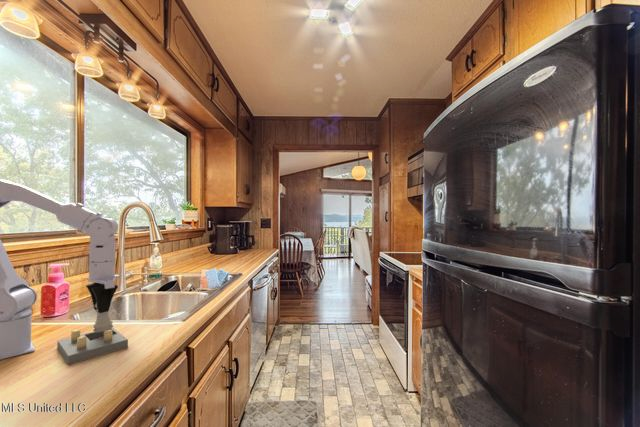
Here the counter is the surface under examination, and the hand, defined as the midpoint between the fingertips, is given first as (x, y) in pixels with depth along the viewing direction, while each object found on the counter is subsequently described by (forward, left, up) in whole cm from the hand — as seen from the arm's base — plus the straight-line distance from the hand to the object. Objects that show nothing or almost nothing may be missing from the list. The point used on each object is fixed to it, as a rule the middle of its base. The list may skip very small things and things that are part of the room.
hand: (101, 310), depth 79 cm
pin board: (+3, -2, -8) cm, 9 cm away
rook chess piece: (0, +1, -6) cm, 6 cm away
